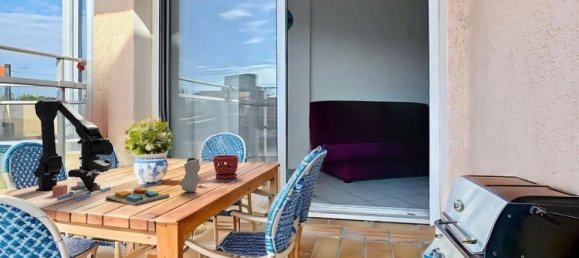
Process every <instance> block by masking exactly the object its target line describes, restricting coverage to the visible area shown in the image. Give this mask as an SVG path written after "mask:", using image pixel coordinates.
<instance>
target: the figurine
mask: <svg viewBox="0 0 579 258" xmlns="http://www.w3.org/2000/svg"><path fill="white" fill-rule="evenodd" d="M183 165H184V167H183V168H184V171H185V174H184V177H183V178H182V180H181V183H180V184H181V186H180V187H181V189H182V191H184V192H188V193H196V192H197V187H198V185H199V181H200V179H201V178H200V175H199V174H198V173H199V172H200V170H201V165H200V159H197V158H195V157H190V158H188V159H187V160H186V162H185V163H184V164H183Z"/></svg>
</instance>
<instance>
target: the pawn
mask: <svg viewBox="0 0 579 258" xmlns="http://www.w3.org/2000/svg"><path fill="white" fill-rule="evenodd" d="M97 189H101V185H100V184H98V183H97V182H94V183H93V186H92V189H91V190H90V191H88V192H90V193H91V192H94V191H97Z"/></svg>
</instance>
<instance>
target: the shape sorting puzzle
mask: <svg viewBox="0 0 579 258" xmlns="http://www.w3.org/2000/svg"><path fill="white" fill-rule="evenodd" d="M170 196H171V195H170V194H169V193H165V194H163V193H160V192H159V191H157V190H148V188H146V187H136V188H134V189H133V190H131V191H129V190H121V191H115V192H114V194H112V195H107V196H106V197H105V200H112V201H116V202H118V203H121V204H122V203H123V204H126V205H130V206H138V205H143V204H147V203H150V202H155V201H158V200H162V199H165V198H170Z"/></svg>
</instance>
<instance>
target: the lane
mask: <svg viewBox="0 0 579 258" xmlns="http://www.w3.org/2000/svg"><path fill="white" fill-rule="evenodd" d="M111 190H112V188H111V186H107V187H103V188H100V189H97V191H94V192H91V193H90V192H89V191H88V190H87V188H80V190H75V191H74V190H73V191H68V192H67V194H64V195H61V196H56V200H58V201H61V199H62V200H64V198H65V199H68V198H71V197H74V196H77V197H75V200H74V201H76V202H77V201H81V200H85V199H87V198H91V197H94V196H96V195H99V194H103V193H106V192H109V191H111ZM83 193H85V194H83ZM80 194H83V195H80ZM78 195H79V196H78Z"/></svg>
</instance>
